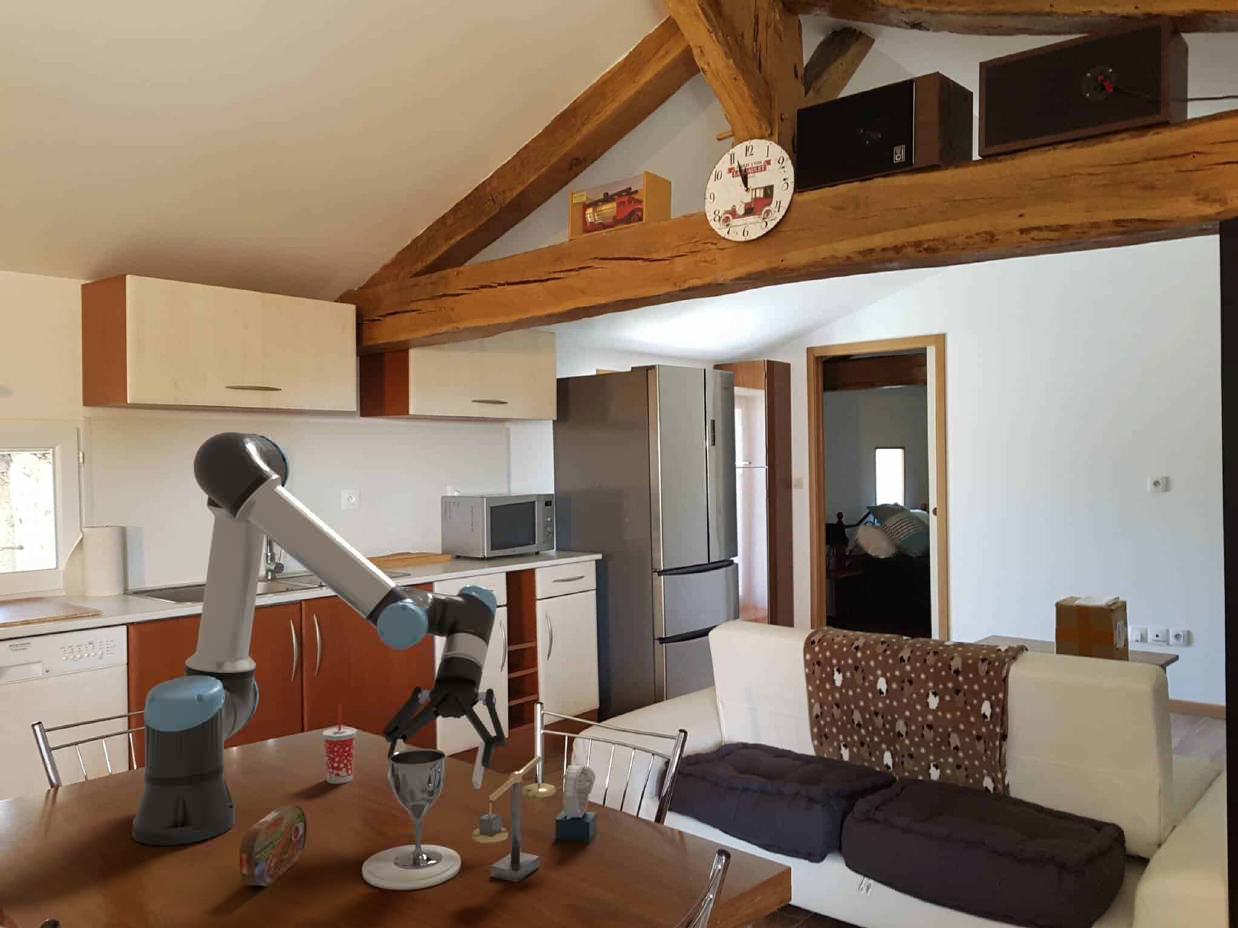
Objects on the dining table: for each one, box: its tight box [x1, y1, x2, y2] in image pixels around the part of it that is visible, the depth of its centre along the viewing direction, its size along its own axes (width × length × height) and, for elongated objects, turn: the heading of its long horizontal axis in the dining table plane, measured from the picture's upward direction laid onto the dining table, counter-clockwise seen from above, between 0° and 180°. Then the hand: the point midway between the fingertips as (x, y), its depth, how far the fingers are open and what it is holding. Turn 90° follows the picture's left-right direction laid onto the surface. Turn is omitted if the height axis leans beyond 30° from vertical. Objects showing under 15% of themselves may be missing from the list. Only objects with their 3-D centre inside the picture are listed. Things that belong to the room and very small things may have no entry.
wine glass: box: [389, 748, 446, 869], centre depth 141 cm, size 8×8×15 cm
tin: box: [238, 805, 308, 887], centre depth 139 cm, size 15×3×8 cm, turn 171°
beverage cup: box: [322, 704, 357, 784], centre depth 181 cm, size 6×6×14 cm
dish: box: [361, 844, 462, 891], centre depth 140 cm, size 14×14×1 cm
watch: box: [555, 763, 597, 843], centre depth 153 cm, size 6×8×11 cm
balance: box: [471, 755, 557, 883], centre depth 140 cm, size 18×5×15 cm, turn 153°
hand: (433, 782), depth 151 cm, fingers open, 13 cm apart
